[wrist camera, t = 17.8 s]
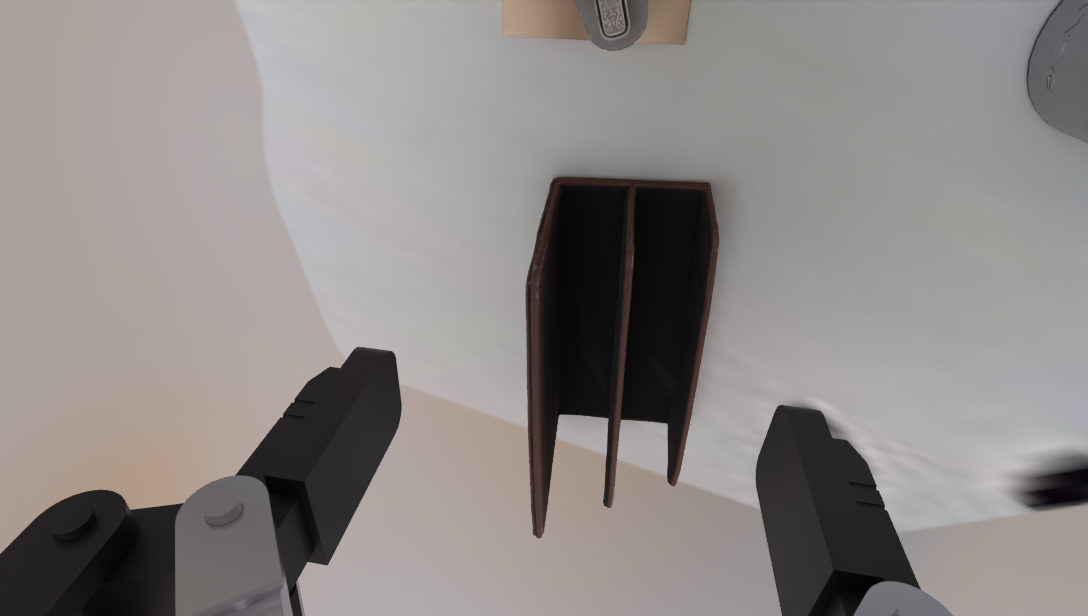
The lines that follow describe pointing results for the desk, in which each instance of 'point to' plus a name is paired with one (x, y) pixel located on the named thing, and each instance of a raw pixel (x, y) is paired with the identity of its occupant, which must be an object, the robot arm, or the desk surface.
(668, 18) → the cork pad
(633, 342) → the letter holder
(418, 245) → the desk surface
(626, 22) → the lighter
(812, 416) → the robot arm
